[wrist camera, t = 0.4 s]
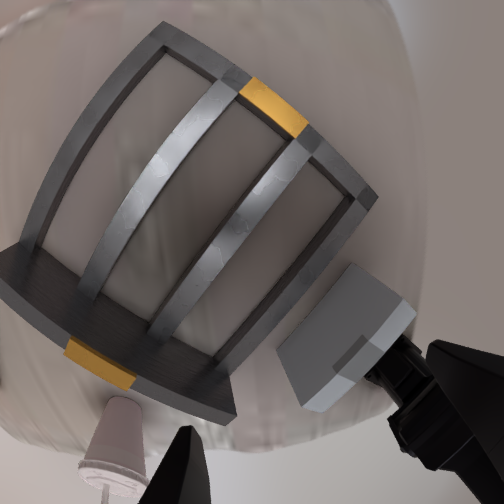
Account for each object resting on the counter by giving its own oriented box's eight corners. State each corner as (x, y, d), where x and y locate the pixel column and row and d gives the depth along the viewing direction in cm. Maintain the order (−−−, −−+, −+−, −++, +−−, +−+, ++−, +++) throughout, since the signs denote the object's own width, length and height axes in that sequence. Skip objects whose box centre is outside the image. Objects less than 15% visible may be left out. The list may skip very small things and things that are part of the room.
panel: (367, 276, 22) (417, 313, 16) (294, 359, 24) (322, 413, 17) (351, 261, 22) (403, 298, 15) (275, 349, 23) (301, 406, 16)
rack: (367, 194, 20) (423, 208, 14) (217, 375, 22) (225, 430, 16) (165, 30, 13) (154, -19, 7) (23, 251, 16) (-22, 282, 10)
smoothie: (93, 380, 20) (60, 503, 7) (156, 395, 22) (151, 527, 9) (98, 417, 22) (79, 521, 9) (153, 429, 24) (151, 538, 11)
